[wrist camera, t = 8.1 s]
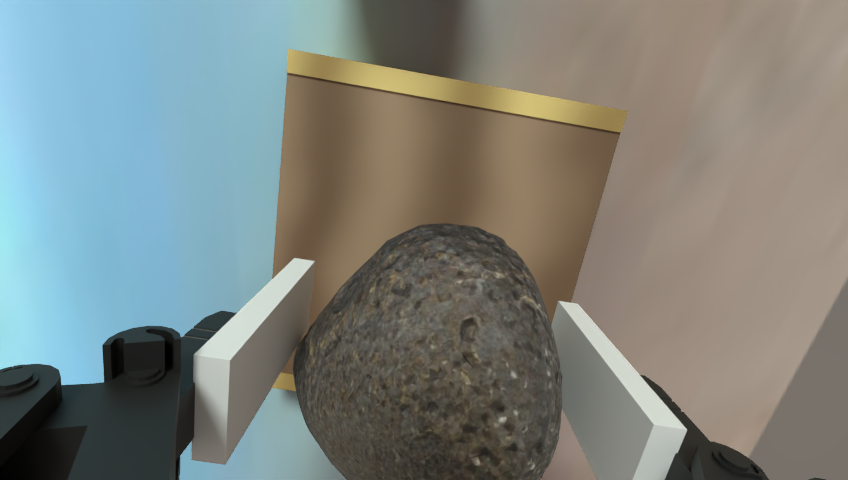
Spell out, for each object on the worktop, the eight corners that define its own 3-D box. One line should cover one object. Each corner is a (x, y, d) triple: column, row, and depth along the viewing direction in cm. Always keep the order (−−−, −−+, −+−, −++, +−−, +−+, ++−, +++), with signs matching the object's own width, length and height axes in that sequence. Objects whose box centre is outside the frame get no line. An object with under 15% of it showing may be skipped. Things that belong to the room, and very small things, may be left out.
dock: (280, 361, 25) (263, 386, 23) (305, 58, 21) (288, 49, 18) (524, 397, 26) (535, 426, 23) (603, 113, 21) (627, 110, 19)
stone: (431, 400, 21) (638, 491, 14) (273, 495, 15) (492, 742, 8) (415, 212, 20) (632, 205, 13) (237, 235, 14) (458, 245, 7)
